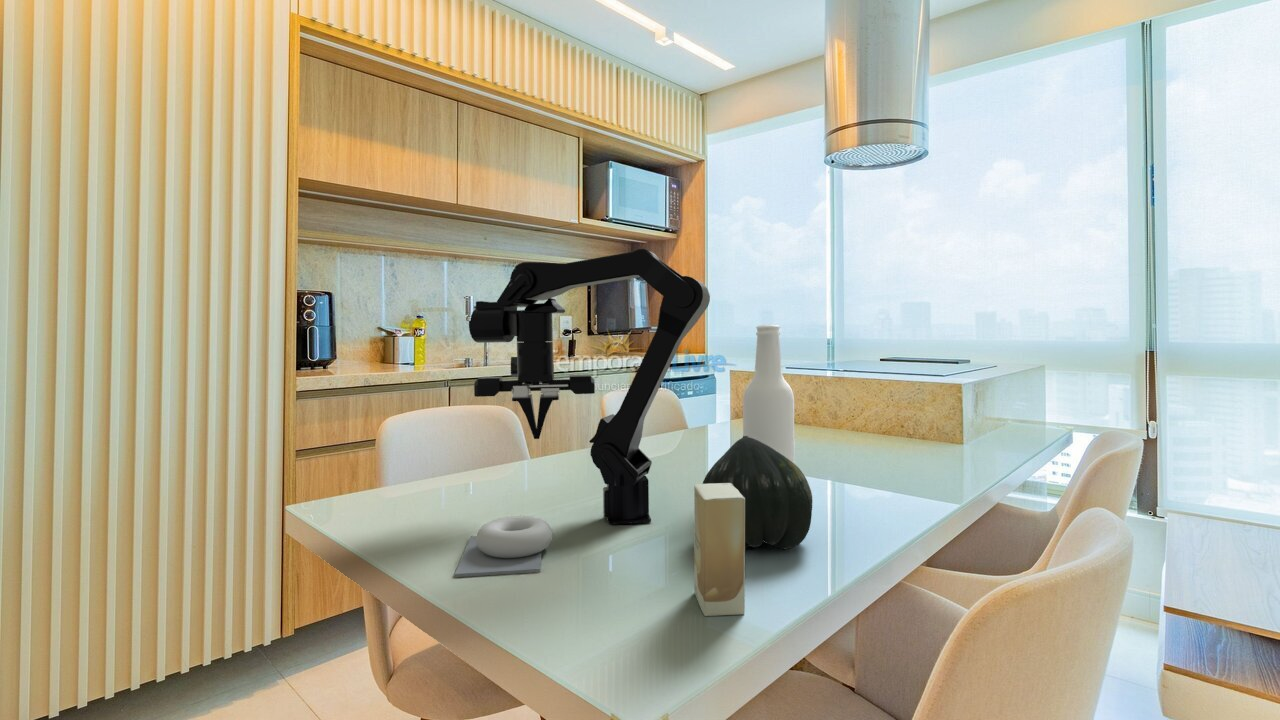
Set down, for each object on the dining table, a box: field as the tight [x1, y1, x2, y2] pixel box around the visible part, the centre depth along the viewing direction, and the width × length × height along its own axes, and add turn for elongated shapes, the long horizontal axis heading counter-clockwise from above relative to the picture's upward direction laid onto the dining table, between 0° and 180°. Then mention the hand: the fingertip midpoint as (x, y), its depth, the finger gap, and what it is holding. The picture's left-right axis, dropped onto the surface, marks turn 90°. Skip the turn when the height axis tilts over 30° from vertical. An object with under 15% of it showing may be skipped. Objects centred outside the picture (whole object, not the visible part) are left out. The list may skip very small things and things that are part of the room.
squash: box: [702, 435, 813, 550], centre depth 85 cm, size 14×15×15 cm
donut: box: [475, 515, 554, 558], centre depth 82 cm, size 10×4×10 cm
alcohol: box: [742, 324, 795, 464], centre depth 108 cm, size 9×9×30 cm
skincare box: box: [693, 483, 746, 617], centre depth 65 cm, size 6×4×12 cm
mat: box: [454, 535, 542, 578], centre depth 81 cm, size 10×14×1 cm
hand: (536, 438), depth 100 cm, fingers closed
